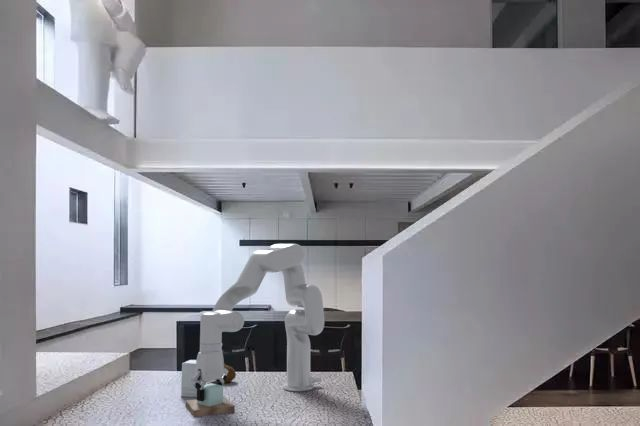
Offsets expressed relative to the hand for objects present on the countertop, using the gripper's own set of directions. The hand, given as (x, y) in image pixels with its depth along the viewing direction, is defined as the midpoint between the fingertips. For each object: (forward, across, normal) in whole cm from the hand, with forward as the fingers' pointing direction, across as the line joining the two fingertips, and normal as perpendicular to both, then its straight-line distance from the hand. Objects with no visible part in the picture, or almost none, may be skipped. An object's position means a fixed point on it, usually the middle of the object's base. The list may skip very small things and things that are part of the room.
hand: (209, 397), depth 194 cm
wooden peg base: (+4, 0, 0) cm, 4 cm away
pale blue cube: (+2, 0, 0) cm, 2 cm away
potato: (+4, -31, -26) cm, 41 cm away
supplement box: (+4, -10, -20) cm, 22 cm away
